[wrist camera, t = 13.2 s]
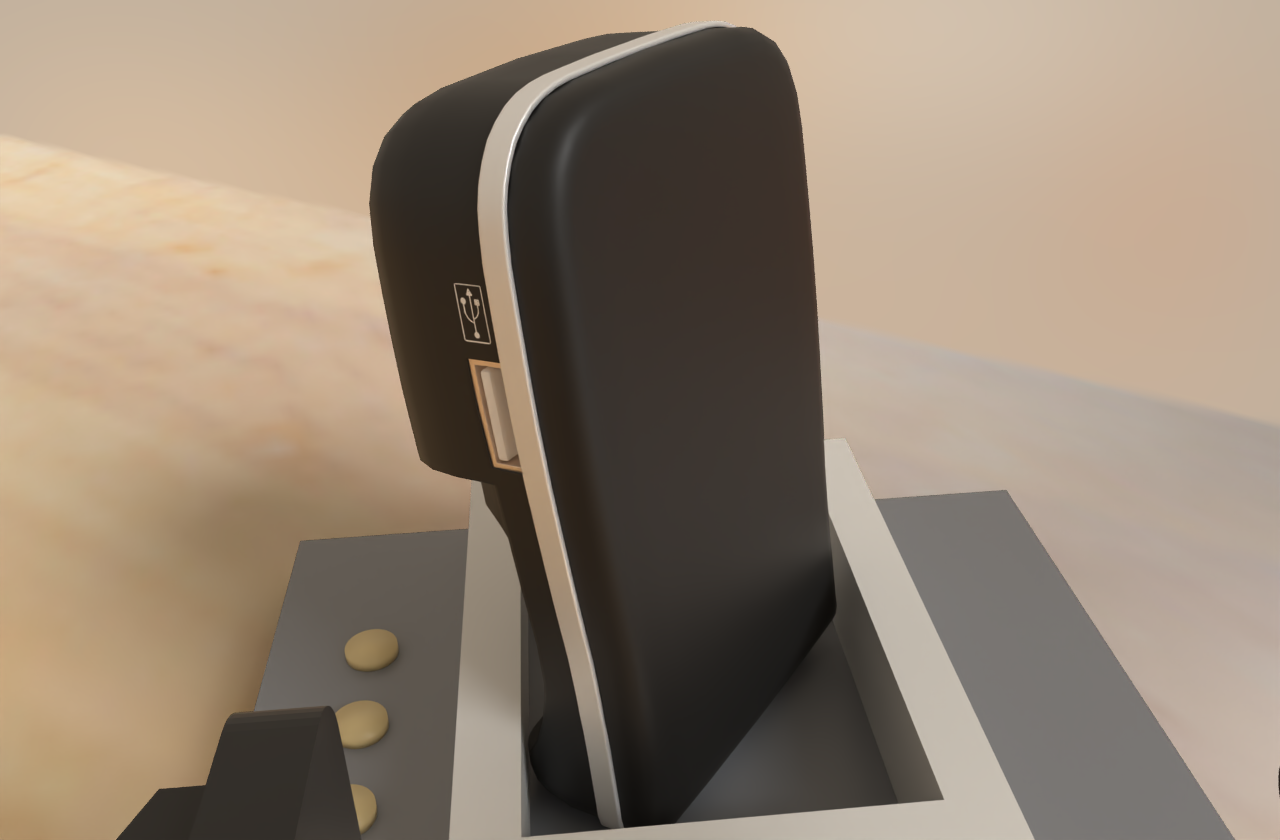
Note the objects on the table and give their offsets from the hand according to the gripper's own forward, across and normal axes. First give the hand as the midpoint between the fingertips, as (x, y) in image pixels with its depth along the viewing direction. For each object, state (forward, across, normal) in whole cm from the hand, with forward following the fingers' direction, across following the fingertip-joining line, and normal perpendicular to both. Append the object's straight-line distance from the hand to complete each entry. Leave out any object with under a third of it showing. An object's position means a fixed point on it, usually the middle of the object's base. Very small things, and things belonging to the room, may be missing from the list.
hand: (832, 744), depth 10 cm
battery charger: (+9, 0, +8) cm, 12 cm away
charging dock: (+9, 0, +9) cm, 13 cm away
